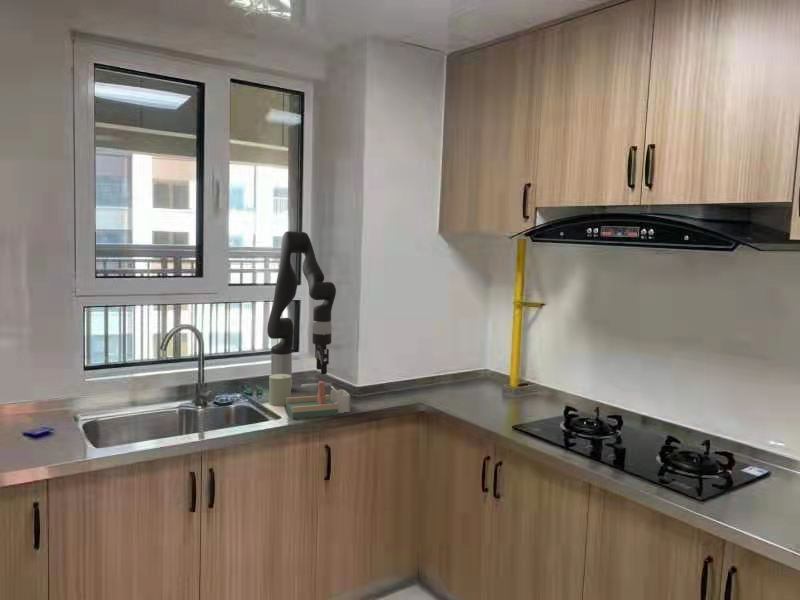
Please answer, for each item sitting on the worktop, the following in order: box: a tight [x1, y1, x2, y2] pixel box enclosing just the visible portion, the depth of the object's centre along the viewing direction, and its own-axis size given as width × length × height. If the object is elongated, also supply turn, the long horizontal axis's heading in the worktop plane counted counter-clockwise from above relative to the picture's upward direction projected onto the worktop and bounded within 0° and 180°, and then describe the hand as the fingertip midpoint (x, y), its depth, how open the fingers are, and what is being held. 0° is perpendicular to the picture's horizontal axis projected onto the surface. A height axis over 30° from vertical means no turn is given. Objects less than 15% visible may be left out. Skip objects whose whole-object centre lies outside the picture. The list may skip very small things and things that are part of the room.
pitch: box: [285, 394, 339, 419], centre depth 246 cm, size 15×18×4 cm
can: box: [268, 374, 292, 407], centre depth 259 cm, size 9×9×12 cm
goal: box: [330, 385, 351, 414], centre depth 250 cm, size 10×6×9 cm, turn 20°
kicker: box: [301, 380, 333, 405], centre depth 247 cm, size 7×12×9 cm, turn 110°
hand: (321, 371), depth 246 cm, fingers open, 8 cm apart
